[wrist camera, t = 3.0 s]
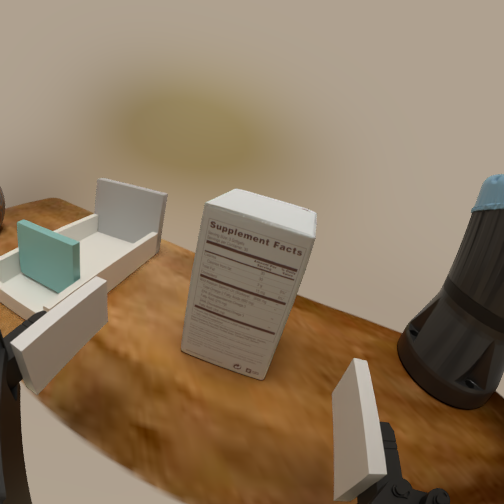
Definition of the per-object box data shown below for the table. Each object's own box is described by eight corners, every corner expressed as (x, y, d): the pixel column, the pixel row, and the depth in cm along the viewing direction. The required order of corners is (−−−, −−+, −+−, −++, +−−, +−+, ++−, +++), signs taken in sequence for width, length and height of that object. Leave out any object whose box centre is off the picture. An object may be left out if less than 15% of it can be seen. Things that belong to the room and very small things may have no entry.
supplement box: (208, 309, 29) (235, 186, 25) (278, 333, 28) (320, 211, 24) (176, 351, 23) (201, 199, 18) (263, 384, 22) (319, 235, 17)
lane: (54, 338, 19) (43, 248, 16) (-12, 292, 20) (-23, 215, 17) (159, 251, 38) (167, 193, 35) (98, 231, 39) (102, 177, 36)
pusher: (75, 301, 23) (72, 245, 21) (21, 271, 23) (16, 222, 21) (81, 296, 24) (79, 242, 22) (27, 268, 24) (23, 219, 22)
